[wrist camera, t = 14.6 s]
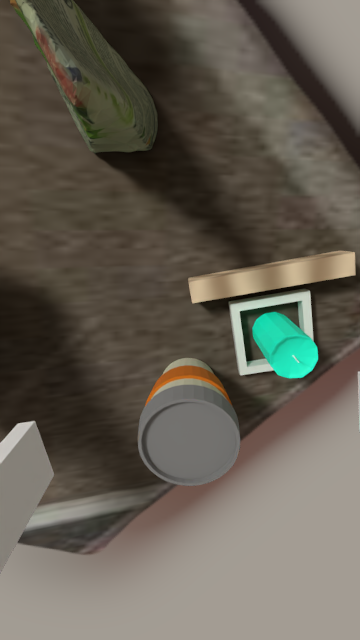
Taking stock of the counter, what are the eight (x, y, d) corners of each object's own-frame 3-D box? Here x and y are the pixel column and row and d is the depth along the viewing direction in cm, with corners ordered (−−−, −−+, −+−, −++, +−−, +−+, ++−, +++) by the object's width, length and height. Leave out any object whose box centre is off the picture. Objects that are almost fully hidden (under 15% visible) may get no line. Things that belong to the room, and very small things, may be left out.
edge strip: (191, 297, 46) (192, 303, 43) (188, 277, 46) (188, 282, 42) (341, 271, 45) (355, 275, 41) (340, 250, 44) (354, 252, 40)
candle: (255, 309, 47) (277, 335, 35) (294, 313, 47) (329, 340, 35) (249, 346, 48) (268, 383, 37) (287, 350, 48) (318, 387, 37)
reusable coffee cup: (193, 331, 48) (196, 375, 34) (242, 387, 50) (264, 450, 36) (134, 378, 50) (113, 437, 36) (183, 429, 53) (182, 504, 38)
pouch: (147, 178, 42) (95, 107, 18) (61, 152, 41) (-113, 42, 17) (169, 85, 39) (140, -148, 15) (76, 56, 38) (-109, -238, 14)
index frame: (238, 369, 50) (240, 375, 48) (228, 301, 46) (230, 304, 45) (310, 358, 49) (315, 363, 47) (304, 288, 46) (310, 290, 44)
